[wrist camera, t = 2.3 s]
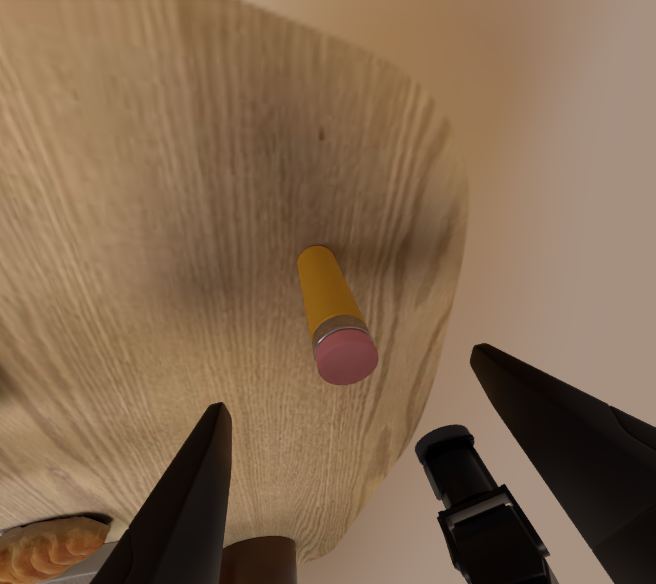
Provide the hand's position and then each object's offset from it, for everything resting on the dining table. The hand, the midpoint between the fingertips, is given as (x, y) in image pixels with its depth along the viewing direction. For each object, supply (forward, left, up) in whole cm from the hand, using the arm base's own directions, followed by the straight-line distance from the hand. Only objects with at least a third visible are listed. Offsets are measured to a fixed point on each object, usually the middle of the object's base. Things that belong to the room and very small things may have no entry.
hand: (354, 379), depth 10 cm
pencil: (0, 0, -9) cm, 9 cm away
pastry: (+31, +25, -9) cm, 41 cm away
